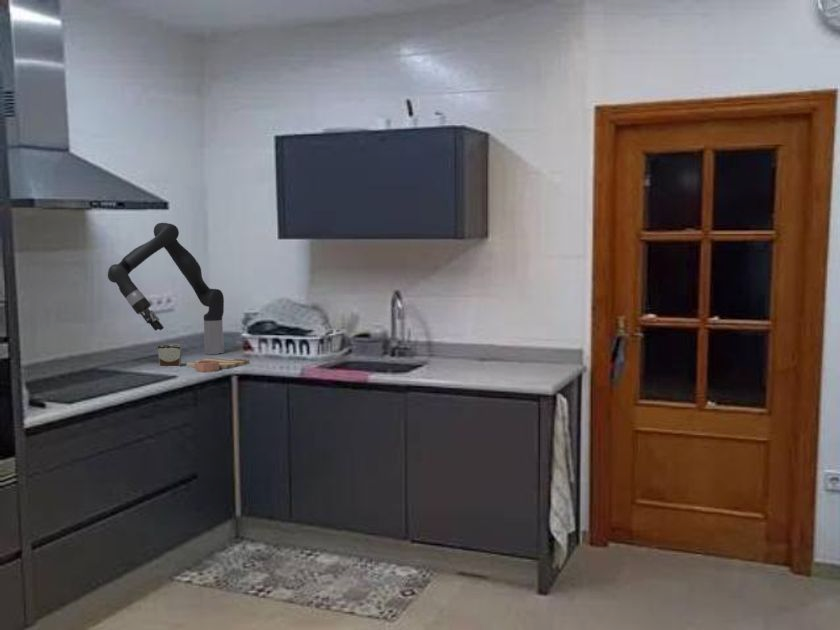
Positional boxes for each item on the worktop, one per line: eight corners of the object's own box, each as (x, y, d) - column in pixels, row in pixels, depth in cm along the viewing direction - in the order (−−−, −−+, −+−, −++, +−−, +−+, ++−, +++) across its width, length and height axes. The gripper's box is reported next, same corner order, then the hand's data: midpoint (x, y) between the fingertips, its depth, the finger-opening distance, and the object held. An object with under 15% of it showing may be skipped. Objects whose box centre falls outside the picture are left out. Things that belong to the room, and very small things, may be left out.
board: (210, 361, 394) (210, 357, 394) (249, 363, 386) (249, 359, 385) (186, 366, 377) (186, 362, 377) (226, 368, 369) (226, 364, 369)
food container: (187, 364, 384) (186, 343, 383) (182, 366, 378) (181, 345, 377) (162, 364, 385) (161, 343, 384) (156, 366, 379) (155, 345, 378)
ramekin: (205, 368, 372) (204, 359, 372) (223, 369, 368) (223, 360, 368) (191, 371, 363) (190, 363, 363) (209, 373, 359) (209, 364, 359)
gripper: (140, 296, 373) (162, 324, 374) (148, 297, 388) (169, 324, 388) (127, 306, 373) (149, 334, 374) (135, 306, 387) (157, 334, 388)
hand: (159, 329), depth 381 cm, fingers open, 8 cm apart
